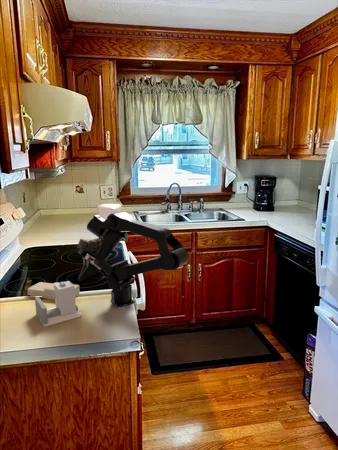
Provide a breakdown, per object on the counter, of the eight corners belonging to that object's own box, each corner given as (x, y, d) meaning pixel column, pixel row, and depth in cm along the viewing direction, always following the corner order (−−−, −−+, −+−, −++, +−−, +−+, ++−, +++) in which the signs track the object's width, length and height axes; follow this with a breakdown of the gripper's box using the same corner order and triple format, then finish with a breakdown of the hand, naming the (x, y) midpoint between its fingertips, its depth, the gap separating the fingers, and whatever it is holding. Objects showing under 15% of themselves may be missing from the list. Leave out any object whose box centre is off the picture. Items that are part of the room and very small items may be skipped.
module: (70, 305, 116) (68, 278, 114) (76, 311, 112) (74, 283, 110) (56, 309, 114) (53, 281, 111) (61, 315, 109) (58, 287, 107)
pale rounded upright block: (117, 241, 202) (116, 205, 197) (94, 241, 204) (92, 205, 199) (123, 235, 217) (122, 202, 212) (102, 235, 218) (100, 201, 214)
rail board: (71, 305, 119) (70, 289, 118) (81, 316, 111) (80, 299, 110) (36, 314, 112) (34, 297, 111) (44, 326, 104) (42, 308, 103)
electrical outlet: (39, 279, 133) (79, 284, 128) (40, 289, 134) (80, 294, 128) (27, 286, 126) (68, 292, 121) (28, 296, 127) (69, 302, 122)
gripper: (81, 225, 120) (52, 260, 117) (102, 235, 105) (70, 276, 102) (103, 243, 126) (76, 276, 123) (125, 255, 111) (96, 294, 108)
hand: (79, 280), depth 113 cm, fingers closed
